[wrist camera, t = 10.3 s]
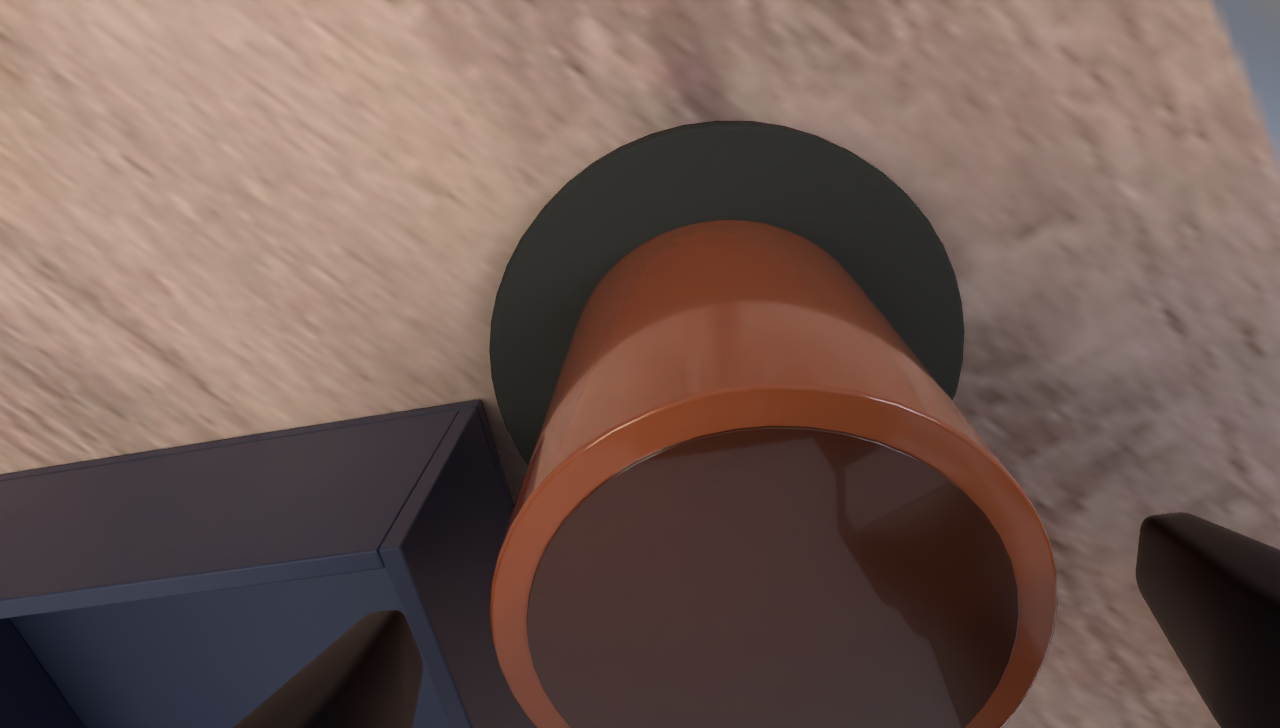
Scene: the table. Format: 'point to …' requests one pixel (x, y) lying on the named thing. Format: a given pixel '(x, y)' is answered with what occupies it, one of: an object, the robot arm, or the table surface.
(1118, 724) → the table surface
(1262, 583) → the robot arm
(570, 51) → the table surface
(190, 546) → the carton
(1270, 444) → the table surface
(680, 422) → the cup
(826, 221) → the disc
